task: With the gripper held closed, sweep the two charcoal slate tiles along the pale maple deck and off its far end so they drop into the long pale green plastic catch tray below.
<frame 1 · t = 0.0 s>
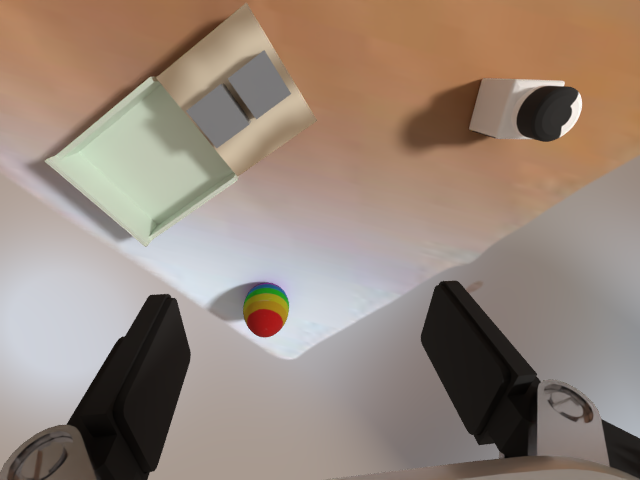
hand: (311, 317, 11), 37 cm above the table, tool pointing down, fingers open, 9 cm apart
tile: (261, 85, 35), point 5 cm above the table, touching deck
tray: (163, 159, 43), on the table
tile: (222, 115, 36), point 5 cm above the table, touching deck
deck: (245, 97, 40), on the table
medicine bottle: (495, 105, 45), on the table
decorative egg: (267, 293, 57), on the table
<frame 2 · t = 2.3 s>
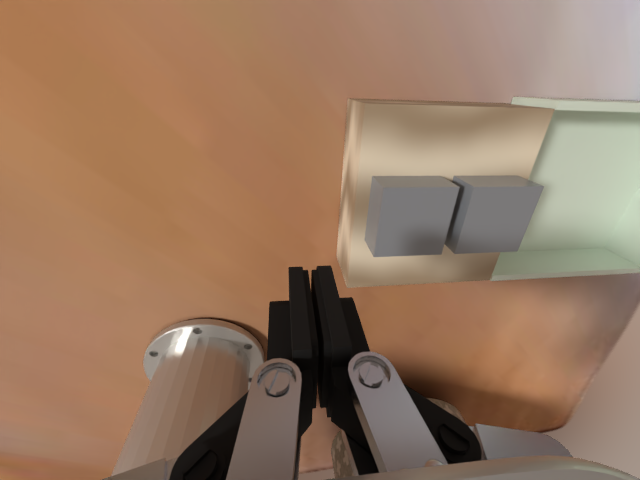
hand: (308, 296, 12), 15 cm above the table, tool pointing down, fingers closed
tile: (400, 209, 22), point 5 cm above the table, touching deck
planter: (390, 417, 44), on the table
tray: (561, 185, 28), on the table
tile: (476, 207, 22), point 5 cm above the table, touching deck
deck: (412, 187, 26), on the table
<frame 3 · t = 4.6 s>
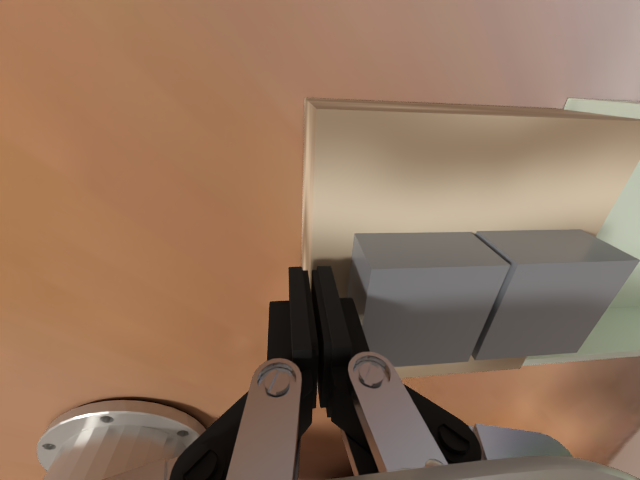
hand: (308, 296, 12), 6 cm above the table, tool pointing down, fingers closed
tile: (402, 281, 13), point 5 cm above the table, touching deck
tray: (622, 226, 20), on the table
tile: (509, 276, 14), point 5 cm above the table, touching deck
deck: (408, 229, 18), on the table
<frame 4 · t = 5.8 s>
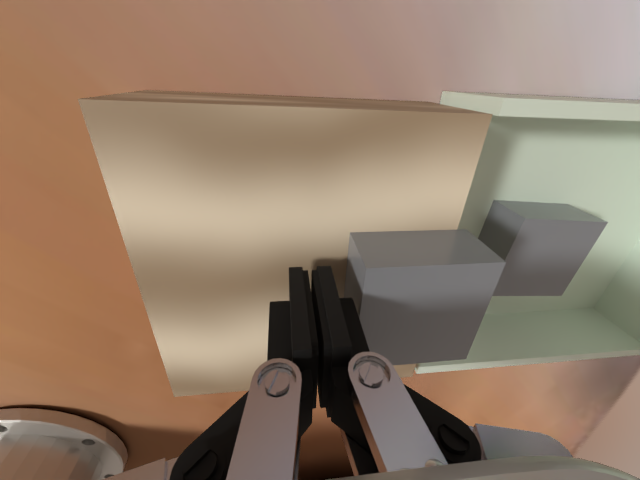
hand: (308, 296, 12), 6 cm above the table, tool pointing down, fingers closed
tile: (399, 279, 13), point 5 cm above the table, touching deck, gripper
tray: (530, 226, 19), on the table
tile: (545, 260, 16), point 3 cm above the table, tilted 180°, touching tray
deck: (295, 230, 17), on the table
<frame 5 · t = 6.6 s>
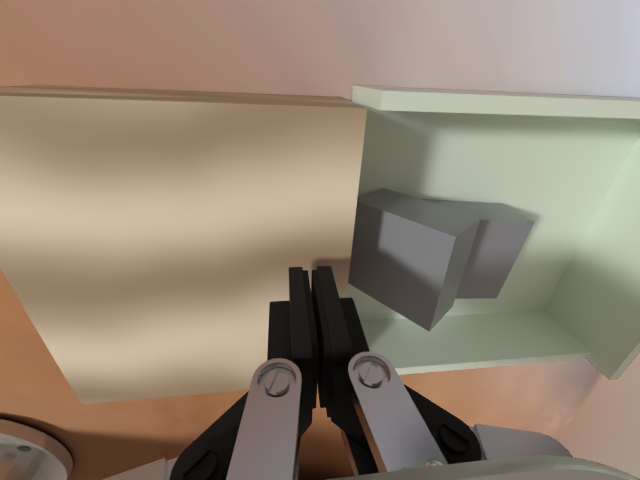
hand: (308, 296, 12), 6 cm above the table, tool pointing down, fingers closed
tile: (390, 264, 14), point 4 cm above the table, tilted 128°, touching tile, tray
tray: (467, 226, 18), on the table
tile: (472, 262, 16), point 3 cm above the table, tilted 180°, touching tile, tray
deck: (215, 231, 16), on the table
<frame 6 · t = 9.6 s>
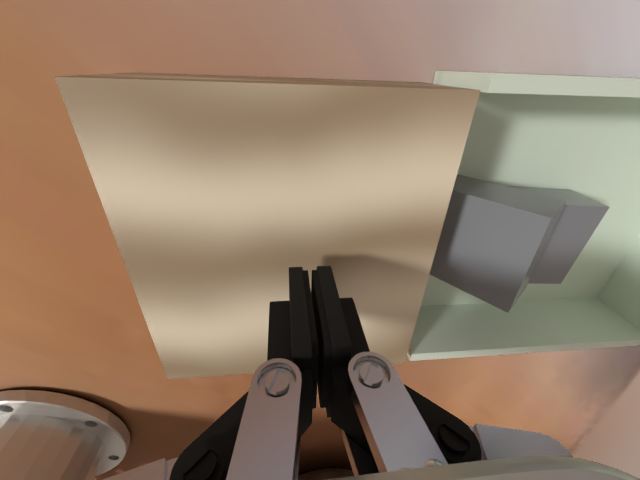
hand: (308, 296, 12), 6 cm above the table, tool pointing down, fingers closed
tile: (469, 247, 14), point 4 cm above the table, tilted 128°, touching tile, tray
tray: (529, 213, 18), on the table
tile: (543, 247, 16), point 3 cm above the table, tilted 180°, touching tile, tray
deck: (287, 216, 17), on the table
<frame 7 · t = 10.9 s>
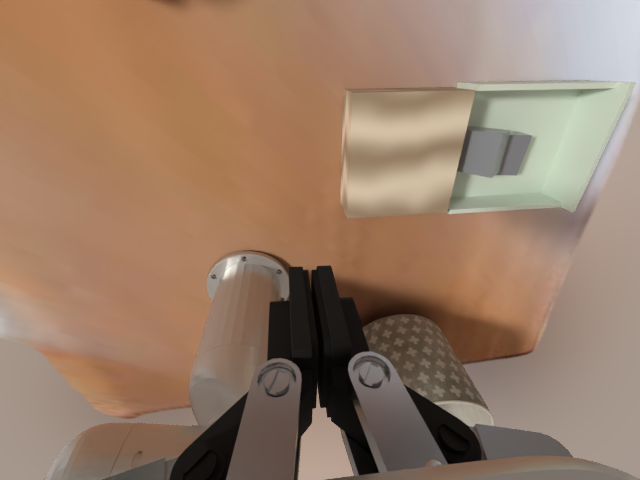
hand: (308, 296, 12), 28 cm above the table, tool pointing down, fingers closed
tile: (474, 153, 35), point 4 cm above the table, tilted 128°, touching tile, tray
planter: (387, 338, 57), on the table
tray: (501, 145, 39), on the table
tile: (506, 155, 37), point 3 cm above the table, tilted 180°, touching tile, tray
deck: (391, 149, 38), on the table
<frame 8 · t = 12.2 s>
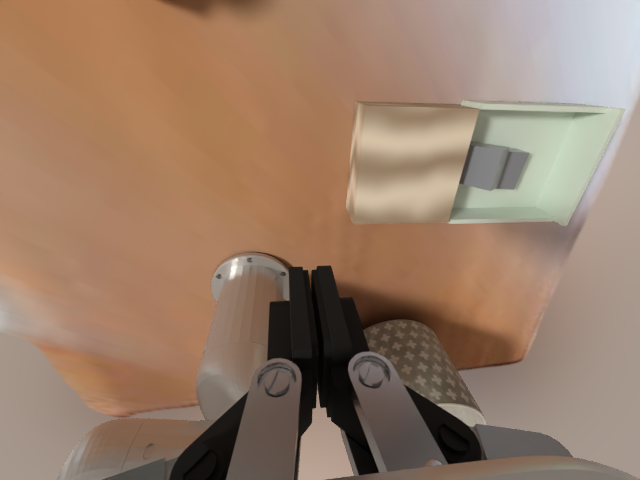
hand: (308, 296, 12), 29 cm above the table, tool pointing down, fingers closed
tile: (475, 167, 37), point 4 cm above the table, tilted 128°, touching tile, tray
planter: (383, 342, 58), on the table
tray: (500, 160, 41), on the table
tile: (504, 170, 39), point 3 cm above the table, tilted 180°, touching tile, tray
deck: (397, 160, 40), on the table
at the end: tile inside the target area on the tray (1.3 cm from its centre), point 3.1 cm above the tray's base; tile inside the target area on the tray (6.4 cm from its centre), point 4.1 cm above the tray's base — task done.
